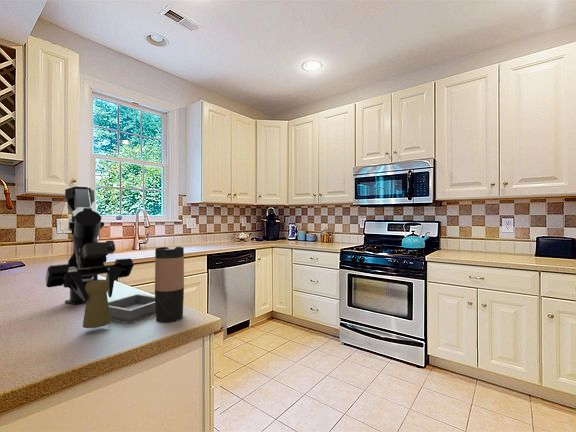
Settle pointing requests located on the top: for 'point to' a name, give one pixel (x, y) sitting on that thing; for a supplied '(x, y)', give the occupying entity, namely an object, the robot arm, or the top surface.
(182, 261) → the travel mug
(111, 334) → the top surface
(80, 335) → the top surface
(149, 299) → the gray square tray
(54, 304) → the top surface
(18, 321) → the top surface
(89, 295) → the cork
